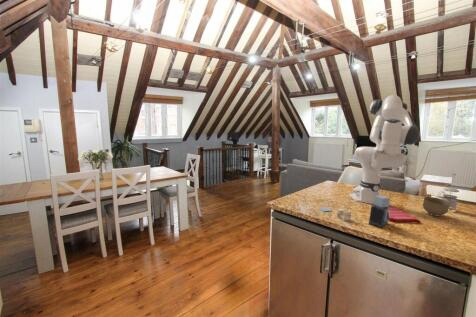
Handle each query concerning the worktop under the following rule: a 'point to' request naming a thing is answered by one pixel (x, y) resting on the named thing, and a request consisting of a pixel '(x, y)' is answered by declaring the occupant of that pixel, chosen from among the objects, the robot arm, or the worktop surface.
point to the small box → (379, 216)
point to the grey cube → (381, 201)
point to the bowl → (435, 205)
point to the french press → (450, 196)
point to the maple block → (343, 214)
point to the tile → (325, 209)
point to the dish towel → (400, 215)
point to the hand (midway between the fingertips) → (386, 175)
